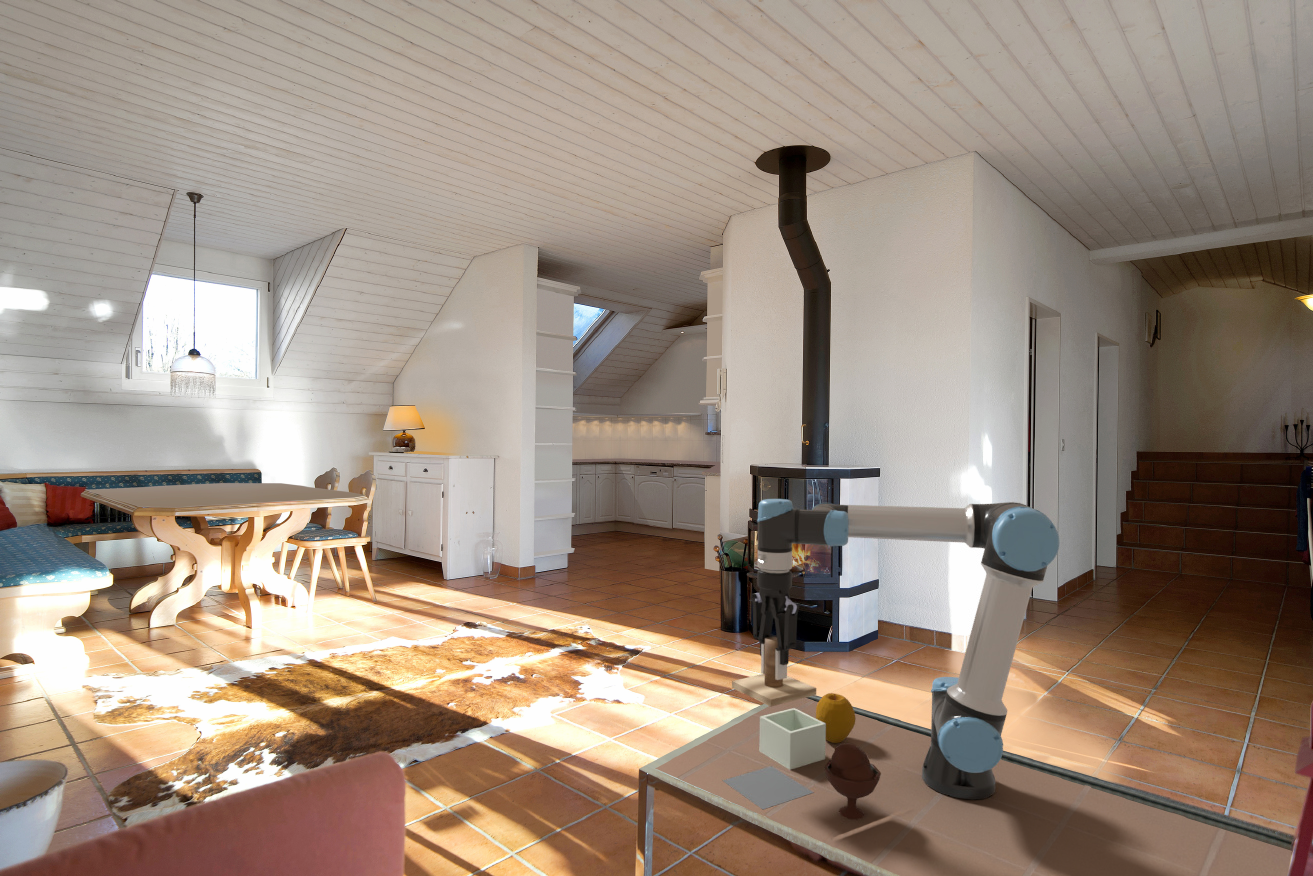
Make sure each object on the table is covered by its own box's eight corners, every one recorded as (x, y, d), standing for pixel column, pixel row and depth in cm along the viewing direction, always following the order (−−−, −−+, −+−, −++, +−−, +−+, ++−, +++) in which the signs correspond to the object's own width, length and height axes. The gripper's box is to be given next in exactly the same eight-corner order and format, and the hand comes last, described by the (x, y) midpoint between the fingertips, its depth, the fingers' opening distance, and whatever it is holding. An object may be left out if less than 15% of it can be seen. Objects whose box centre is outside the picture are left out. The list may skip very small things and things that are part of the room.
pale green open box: (825, 761, 173) (825, 723, 173) (789, 772, 168) (790, 733, 167) (793, 743, 183) (794, 708, 182) (759, 753, 177) (759, 716, 177)
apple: (861, 740, 185) (862, 694, 185) (841, 752, 178) (842, 704, 178) (828, 729, 192) (829, 684, 192) (807, 739, 185) (808, 693, 185)
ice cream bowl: (882, 833, 143) (884, 757, 143) (824, 826, 145) (825, 751, 145) (877, 805, 153) (878, 734, 153) (822, 799, 156) (824, 729, 155)
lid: (816, 694, 159) (816, 642, 159) (770, 706, 152) (771, 651, 152) (776, 677, 170) (776, 628, 170) (732, 687, 163) (732, 636, 163)
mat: (813, 795, 157) (813, 792, 157) (762, 812, 150) (762, 809, 150) (771, 768, 169) (771, 766, 169) (722, 783, 162) (722, 780, 162)
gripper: (736, 565, 166) (736, 667, 166) (788, 578, 152) (787, 690, 152) (762, 561, 170) (761, 662, 170) (814, 574, 156) (814, 683, 156)
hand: (773, 675), depth 161 cm, fingers closed on lid, 4 cm apart
